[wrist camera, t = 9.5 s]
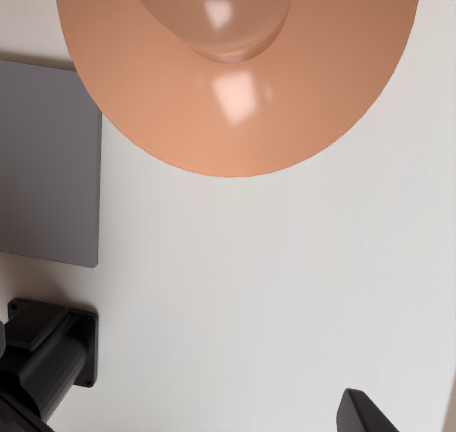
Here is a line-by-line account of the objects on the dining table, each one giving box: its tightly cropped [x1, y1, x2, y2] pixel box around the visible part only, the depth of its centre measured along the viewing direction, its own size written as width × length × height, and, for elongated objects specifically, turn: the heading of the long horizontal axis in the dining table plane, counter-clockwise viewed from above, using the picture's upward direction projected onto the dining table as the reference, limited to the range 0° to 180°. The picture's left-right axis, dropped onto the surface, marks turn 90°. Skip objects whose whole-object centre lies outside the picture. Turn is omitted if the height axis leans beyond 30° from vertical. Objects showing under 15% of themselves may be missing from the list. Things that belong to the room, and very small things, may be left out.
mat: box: [0, 60, 102, 268], centre depth 21 cm, size 12×12×1 cm
